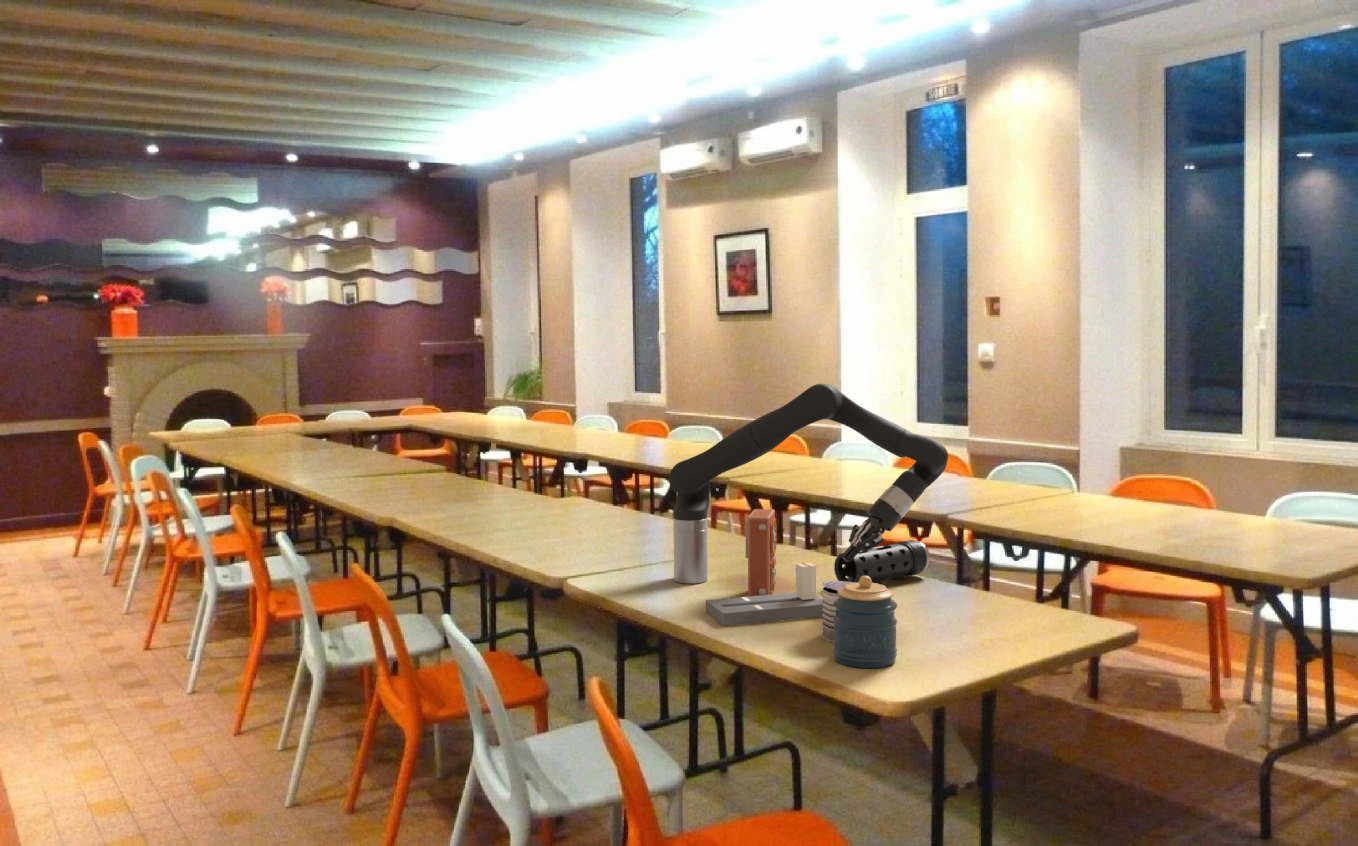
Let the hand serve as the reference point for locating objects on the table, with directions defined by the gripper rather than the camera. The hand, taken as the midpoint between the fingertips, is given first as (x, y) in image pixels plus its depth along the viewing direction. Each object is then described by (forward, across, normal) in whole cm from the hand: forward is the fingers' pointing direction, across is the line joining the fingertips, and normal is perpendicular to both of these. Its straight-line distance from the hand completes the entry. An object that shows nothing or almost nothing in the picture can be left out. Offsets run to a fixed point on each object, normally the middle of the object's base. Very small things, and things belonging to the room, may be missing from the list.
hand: (845, 559), depth 266 cm
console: (+23, 0, -6) cm, 24 cm away
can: (+16, +24, +1) cm, 29 cm away
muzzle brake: (-6, -20, +24) cm, 31 cm away
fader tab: (+13, 0, -1) cm, 14 cm away
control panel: (+19, -18, -2) cm, 26 cm away
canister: (+19, +40, -2) cm, 45 cm away
